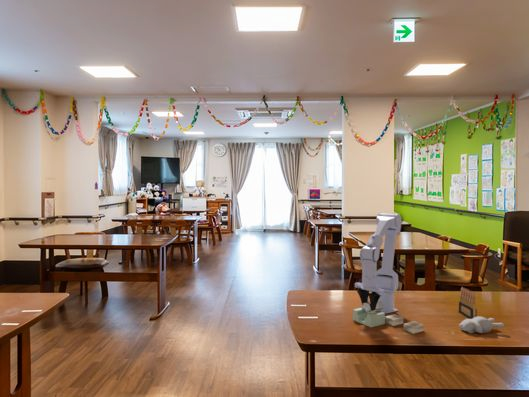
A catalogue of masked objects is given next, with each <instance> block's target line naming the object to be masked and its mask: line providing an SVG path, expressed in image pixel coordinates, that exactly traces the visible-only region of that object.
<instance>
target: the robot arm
mask: <svg viewBox="0 0 529 397" xmlns="http://www.w3.org/2000/svg"><path fill="white" fill-rule="evenodd" d="M402 220H403V219H402V216H401V215H400V213H387V212H385V213H384V212H378V213H377V215H376V220H375V222H376V229H375V232H374V234H371V235H370V236H369V238H368V240H367V242H366V244H365V245H364V246H363V247H362V248H360V252H359V259H360V264H361V266H362V267H361V271H362V272H361V273H362V274H361V282H359V281H358V282H355V283H354V288H356V289H357V290H356V292H357V294H358V296H359V299H360V302H361V305H362V304H363V303H367V302H370V309H371V310H375V309H376V305H377V302H378V301H379V300H380V301H382V302H383V304H384V308H383V310H379V311H378V312H384V313H385V314H390V313H394V312H398V311H399V309H397V308H395V307H394V306H395V292H396V291H397V290H398V288H399V275H398V273H397V272H396V271H395V270H394V268H393V267H394V261H395V260H394V257H395V249H396V241H397V236H398V235H397V234H399V233H401V229H402ZM383 238H384V239H383ZM382 246H383V253H382V261H381V268H379V269H378V268H377V266H378V264H377V262H378V260H379V258H380V253H381V250H380V249H381V248H382ZM377 269H378V270H377Z"/></svg>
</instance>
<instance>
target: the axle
mask: <svg viewBox="0 0 529 397" xmlns="http://www.w3.org/2000/svg"><path fill="white" fill-rule="evenodd" d="M360 308H362V311H363V312H364V313H368V312H373V313H375V312H380V311H379V310H383V308H384V304H383V302H382V301H380V300H379V301H378V302H377V305H376V309H375V310H371V309H370V301H368V302H367V303H363V304H362V303H361V307H360Z"/></svg>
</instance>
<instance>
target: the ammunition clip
mask: <svg viewBox="0 0 529 397" xmlns="http://www.w3.org/2000/svg"><path fill="white" fill-rule="evenodd" d="M459 294H460V295H459V301H458V314H460V315H462V316H463V317H465V318H466V319H473V318H474V317H478V316H477V314H478V313H477V310H478V309H477V307H476V306H477V300H476V293H475V291H472V290H471V291H470V289H468V288H466V287H463V286H461V288H460V293H459Z"/></svg>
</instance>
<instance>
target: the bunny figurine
mask: <svg viewBox="0 0 529 397" xmlns="http://www.w3.org/2000/svg"><path fill="white" fill-rule="evenodd" d="M495 321H496V320H495V318H493V317H489V318H486V317H484V316H479V315H478V316H477V317H474V318H473V319H469V318H465V319H464V320H462V321H461V323H459V324H458V325H459V328H460V329H461V330H463V331H464V332H467V333H469V334H475V333H479V334H485V333H490V332H491V330H492V329H493V327H494V328H501V329H502V328H503V329H504V328H505V324H504V323H503V322H495Z"/></svg>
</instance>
